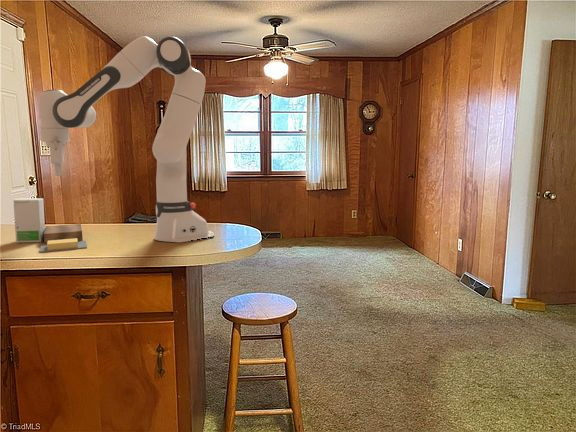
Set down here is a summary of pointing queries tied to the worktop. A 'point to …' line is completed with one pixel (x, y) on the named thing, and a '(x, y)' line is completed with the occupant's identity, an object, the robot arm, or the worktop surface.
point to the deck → (63, 232)
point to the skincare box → (29, 219)
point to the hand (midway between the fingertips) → (58, 176)
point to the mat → (80, 246)
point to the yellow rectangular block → (62, 244)
